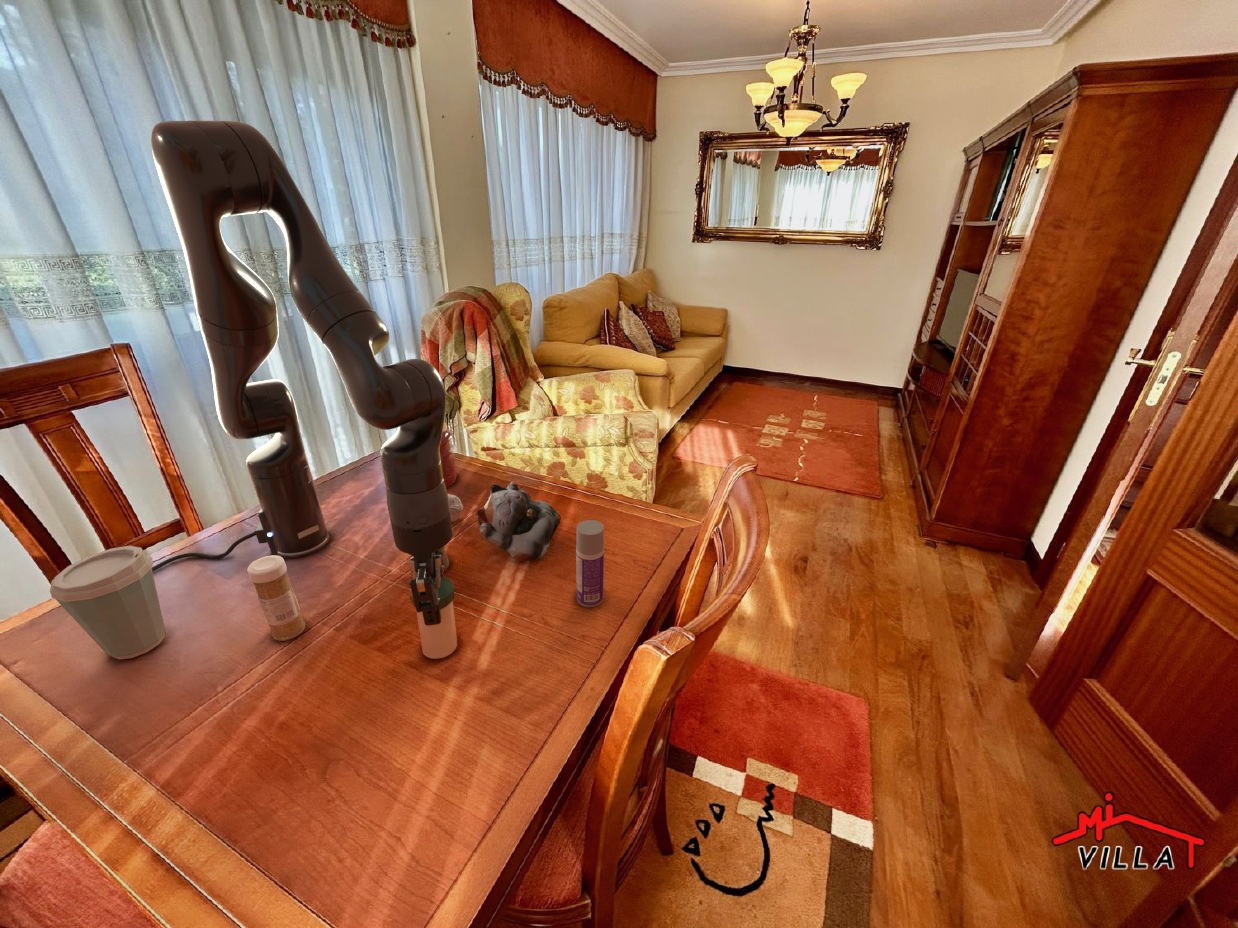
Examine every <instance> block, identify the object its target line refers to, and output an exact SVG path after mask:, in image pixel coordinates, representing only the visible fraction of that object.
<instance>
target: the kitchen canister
mask: <svg viewBox="0 0 1238 928" xmlns="http://www.w3.org/2000/svg"><path fill="white" fill-rule="evenodd" d="M398 429H399V427H397V429H396V431H395V433H396V432H397V431H398ZM452 438H453V434H452V432H451V431H450V430H448V425H447V423H446V422H444V424H443V432H442V438H441V443H440V449H439V450H440V457H441V465H442V473H443V479H444V483H445V486H446V489H447V488H448V487H450V486H452V485H453V484H454V483H455V482H456V481H457V475H458V471H457V470H458V469H457V467H456V462H455V453H454V450H455V447H454V445H453V443H452V442H451V440H452Z"/></svg>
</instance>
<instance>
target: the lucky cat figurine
mask: <svg viewBox="0 0 1238 928" xmlns="http://www.w3.org/2000/svg"><path fill="white" fill-rule="evenodd" d="M475 515H476V520H477V523H478V526H479V533H480V535H481V536H482V537H483V538H484V539H485V540H486V541H487V542H489V543H491V544H492V545H494V546H496V547H498V548H499V549H502V550H503V551H505V552H507V553H509V554H510V555H511V557H512V558H513V559H514V560H516V561H519V562H529V561H535V560H537V559H539V558H542V557H544V556H545V555H546V553H547V552H548V551H549V549H550V546H551V541H552V538H553V536H554V535H555V532H556V530H557V529H558V527H559V525H560V524H561V520H562V517H561V514H559V513H558V512H557V511H556V509H555V508H554V507H553V506H552V505H551V504H550V503H548V502H546V501H544V500H532V496H531V495H530V494H529V493H527V491H525V490H524V489H521V488H519V486H518V484H517V483H515V482H513V481H512V482H509V485H507V487H503V486H502V485H499V484H492V485H491V486H490V492H489V496H488V500H487V501H486V503H485V505H484V506H483V507H481V508H477V509H476V511H475Z"/></svg>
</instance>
